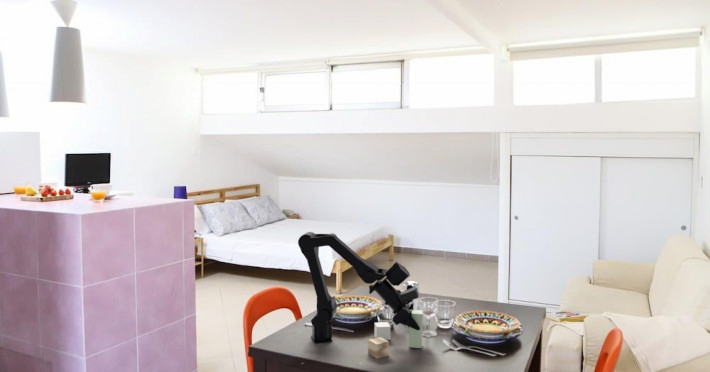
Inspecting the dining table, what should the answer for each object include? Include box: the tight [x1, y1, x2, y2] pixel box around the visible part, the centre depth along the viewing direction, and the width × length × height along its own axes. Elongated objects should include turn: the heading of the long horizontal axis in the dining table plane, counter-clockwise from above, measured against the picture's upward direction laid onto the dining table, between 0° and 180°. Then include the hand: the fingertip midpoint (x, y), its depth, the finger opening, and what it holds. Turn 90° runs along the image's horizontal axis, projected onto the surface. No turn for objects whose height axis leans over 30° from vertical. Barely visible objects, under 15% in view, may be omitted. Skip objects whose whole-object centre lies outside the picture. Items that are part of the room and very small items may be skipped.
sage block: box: [408, 309, 424, 349], centre depth 195 cm, size 4×4×12 cm
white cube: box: [373, 321, 391, 341], centre depth 204 cm, size 5×5×5 cm
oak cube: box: [367, 337, 390, 360], centre depth 187 cm, size 5×5×5 cm
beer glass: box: [401, 281, 420, 310], centre depth 224 cm, size 7×7×15 cm
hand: (419, 327), depth 194 cm, fingers closed on sage block, 4 cm apart
